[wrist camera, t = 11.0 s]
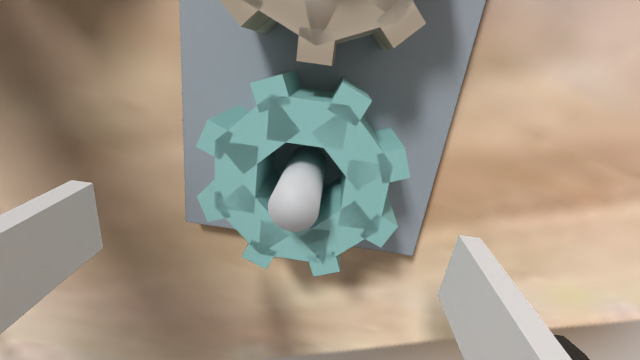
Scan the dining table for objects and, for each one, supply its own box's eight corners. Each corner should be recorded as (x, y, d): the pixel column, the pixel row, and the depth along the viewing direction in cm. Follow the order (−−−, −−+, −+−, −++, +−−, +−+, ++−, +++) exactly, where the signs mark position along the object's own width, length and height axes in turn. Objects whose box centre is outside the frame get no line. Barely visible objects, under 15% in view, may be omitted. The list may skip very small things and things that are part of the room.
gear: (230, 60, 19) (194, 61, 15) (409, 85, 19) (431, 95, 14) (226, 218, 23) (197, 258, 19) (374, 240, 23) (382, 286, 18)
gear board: (187, -204, 16) (39, -453, 8) (520, -159, 16) (696, -373, 8) (194, 212, 25) (126, 284, 17) (408, 244, 25) (439, 332, 17)
